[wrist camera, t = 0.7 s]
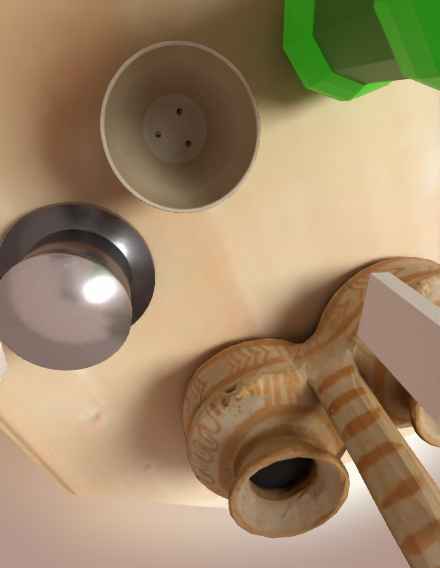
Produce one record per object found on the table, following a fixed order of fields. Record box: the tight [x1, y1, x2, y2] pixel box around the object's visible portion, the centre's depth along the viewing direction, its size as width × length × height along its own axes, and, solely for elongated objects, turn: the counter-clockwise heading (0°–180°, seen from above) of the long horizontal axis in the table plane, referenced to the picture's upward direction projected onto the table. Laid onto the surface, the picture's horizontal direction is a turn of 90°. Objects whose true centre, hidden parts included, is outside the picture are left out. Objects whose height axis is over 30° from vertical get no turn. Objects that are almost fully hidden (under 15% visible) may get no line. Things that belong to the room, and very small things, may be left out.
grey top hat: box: [0, 202, 155, 370], centre depth 30 cm, size 13×13×8 cm
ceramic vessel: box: [182, 257, 440, 568], centre depth 31 cm, size 34×18×25 cm, turn 121°
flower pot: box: [100, 40, 260, 213], centre depth 26 cm, size 10×10×7 cm
